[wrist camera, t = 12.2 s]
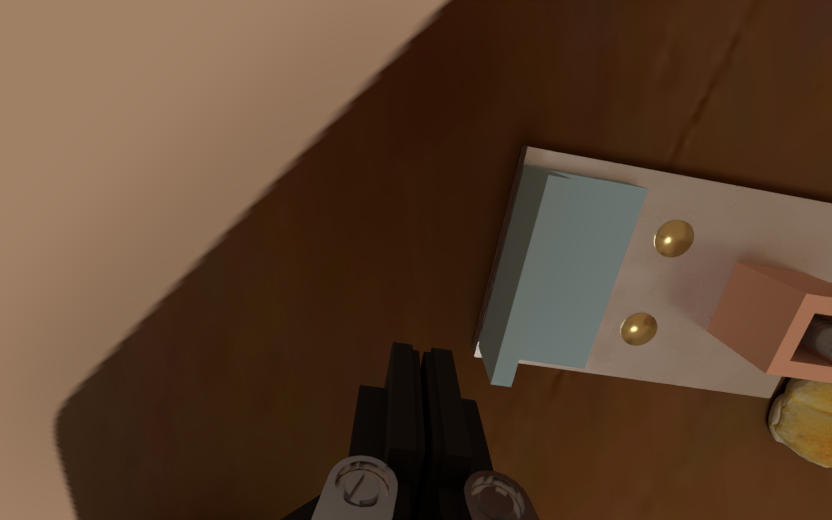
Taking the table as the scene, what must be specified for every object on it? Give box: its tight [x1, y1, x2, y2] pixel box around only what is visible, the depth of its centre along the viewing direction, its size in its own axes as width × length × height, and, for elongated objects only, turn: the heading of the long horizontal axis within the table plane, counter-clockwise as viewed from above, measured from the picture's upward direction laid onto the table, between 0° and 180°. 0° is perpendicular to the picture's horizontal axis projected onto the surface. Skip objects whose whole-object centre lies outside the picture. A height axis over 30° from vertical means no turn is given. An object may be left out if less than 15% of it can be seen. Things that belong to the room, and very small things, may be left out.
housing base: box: [471, 145, 832, 398], centre depth 25 cm, size 22×14×8 cm, turn 80°
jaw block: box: [707, 262, 832, 383], centre depth 26 cm, size 5×5×5 cm
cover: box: [478, 165, 648, 387], centre depth 25 cm, size 7×12×4 cm, turn 170°
